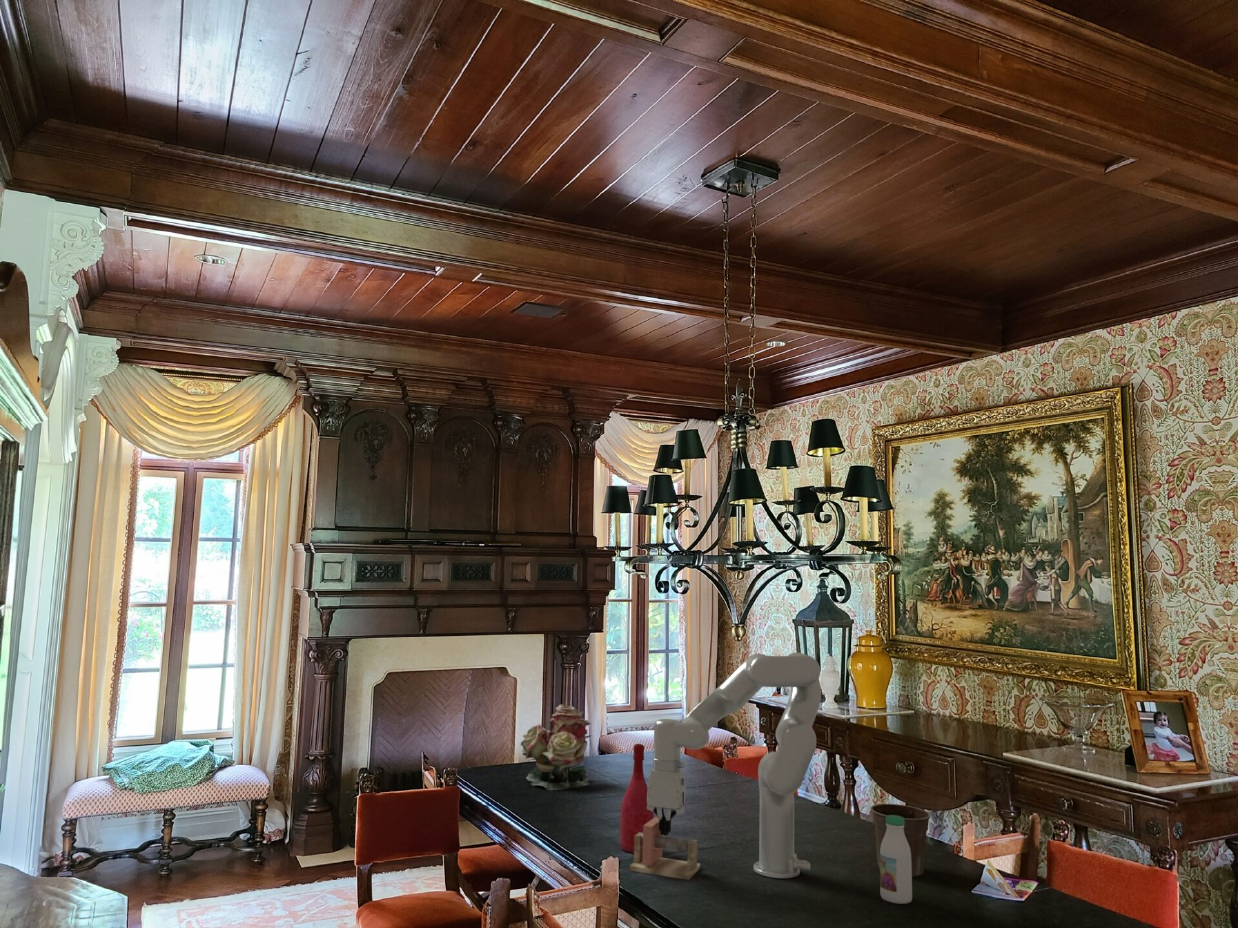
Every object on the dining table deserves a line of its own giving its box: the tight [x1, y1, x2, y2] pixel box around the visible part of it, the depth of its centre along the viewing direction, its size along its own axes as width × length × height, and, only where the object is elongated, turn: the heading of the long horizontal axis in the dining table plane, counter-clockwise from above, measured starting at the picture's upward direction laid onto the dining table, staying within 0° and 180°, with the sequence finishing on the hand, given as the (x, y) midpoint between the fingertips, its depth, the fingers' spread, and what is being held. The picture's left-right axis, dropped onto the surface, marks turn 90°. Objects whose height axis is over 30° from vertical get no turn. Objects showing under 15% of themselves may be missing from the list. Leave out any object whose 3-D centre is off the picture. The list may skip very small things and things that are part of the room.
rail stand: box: [628, 832, 701, 881], centre depth 237 cm, size 17×11×9 cm, turn 69°
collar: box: [642, 816, 664, 865], centre depth 238 cm, size 2×10×10 cm, turn 159°
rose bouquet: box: [520, 703, 593, 791], centre depth 339 cm, size 26×29×30 cm
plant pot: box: [870, 803, 932, 878], centre depth 242 cm, size 16×16×16 cm
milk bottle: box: [879, 815, 913, 905], centre depth 220 cm, size 8×8×20 cm
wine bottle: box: [619, 743, 655, 854], centre depth 256 cm, size 10×10×30 cm
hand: (664, 833), depth 237 cm, fingers closed
